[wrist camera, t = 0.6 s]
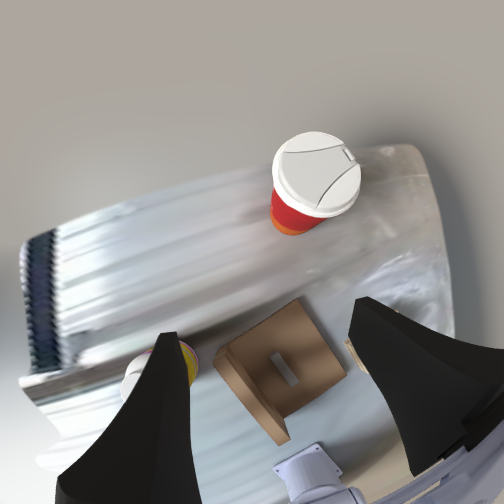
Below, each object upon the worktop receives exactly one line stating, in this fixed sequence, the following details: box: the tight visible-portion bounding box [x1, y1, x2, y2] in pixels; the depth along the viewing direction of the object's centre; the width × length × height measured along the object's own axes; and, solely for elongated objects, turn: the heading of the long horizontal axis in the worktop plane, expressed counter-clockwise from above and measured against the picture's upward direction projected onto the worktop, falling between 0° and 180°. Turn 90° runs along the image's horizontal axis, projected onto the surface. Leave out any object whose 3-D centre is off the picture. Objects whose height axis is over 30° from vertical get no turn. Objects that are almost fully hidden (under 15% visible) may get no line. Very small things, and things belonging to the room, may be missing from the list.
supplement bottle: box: [121, 341, 199, 403], centre depth 27 cm, size 7×7×13 cm
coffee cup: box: [270, 132, 361, 235], centre depth 29 cm, size 8×8×15 cm
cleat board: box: [213, 299, 347, 446], centre depth 30 cm, size 13×12×7 cm
